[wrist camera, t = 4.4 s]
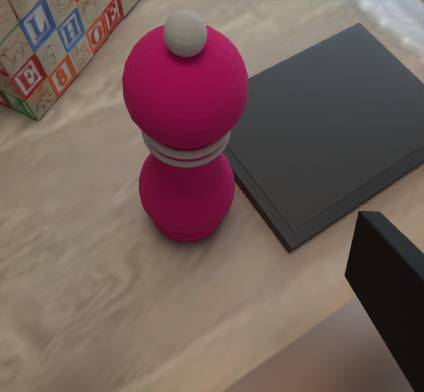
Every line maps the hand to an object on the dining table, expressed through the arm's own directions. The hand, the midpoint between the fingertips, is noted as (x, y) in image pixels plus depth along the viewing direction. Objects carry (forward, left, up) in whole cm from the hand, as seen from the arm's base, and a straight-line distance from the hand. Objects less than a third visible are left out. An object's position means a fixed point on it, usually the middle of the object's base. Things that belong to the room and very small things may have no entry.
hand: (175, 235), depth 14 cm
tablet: (+10, +19, -17) cm, 28 cm away
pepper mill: (-2, +8, -18) cm, 19 cm away
